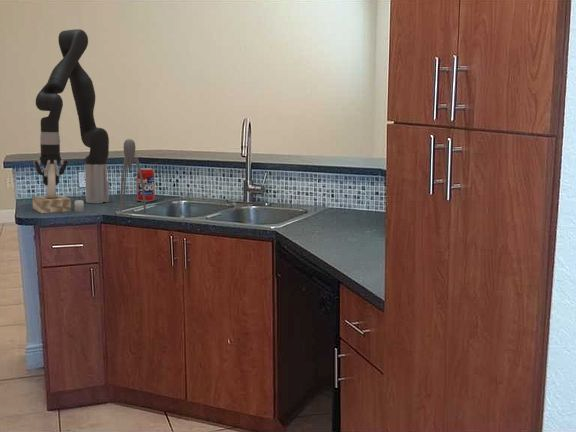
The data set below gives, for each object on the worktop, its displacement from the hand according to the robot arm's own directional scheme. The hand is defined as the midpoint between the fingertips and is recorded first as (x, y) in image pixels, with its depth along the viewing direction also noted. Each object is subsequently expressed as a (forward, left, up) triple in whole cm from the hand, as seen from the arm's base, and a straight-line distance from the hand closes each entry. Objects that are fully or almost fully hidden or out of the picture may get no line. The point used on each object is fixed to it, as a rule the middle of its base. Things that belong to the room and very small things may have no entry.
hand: (51, 184), depth 294 cm
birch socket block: (0, 0, -10) cm, 10 cm away
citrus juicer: (-26, +17, -11) cm, 33 cm away
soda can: (-45, -7, -11) cm, 47 cm away
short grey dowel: (-9, +9, -10) cm, 16 cm away
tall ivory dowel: (0, 0, -5) cm, 5 cm away
